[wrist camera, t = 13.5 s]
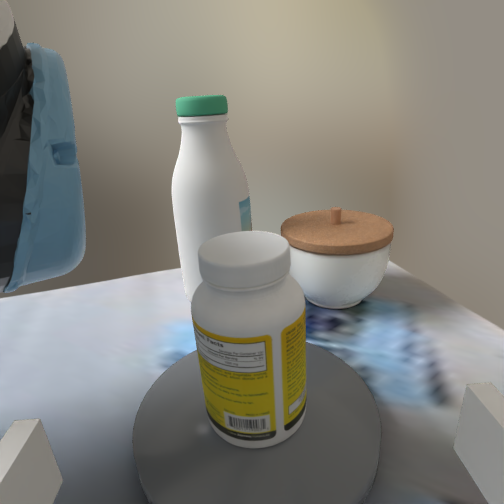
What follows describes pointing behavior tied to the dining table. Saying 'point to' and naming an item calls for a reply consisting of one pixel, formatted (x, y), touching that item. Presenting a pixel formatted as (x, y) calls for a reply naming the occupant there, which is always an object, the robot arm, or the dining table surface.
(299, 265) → the lidded jar
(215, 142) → the milk bottle
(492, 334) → the dining table surface
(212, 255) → the pill bottle
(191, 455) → the slate plate
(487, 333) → the dining table surface
